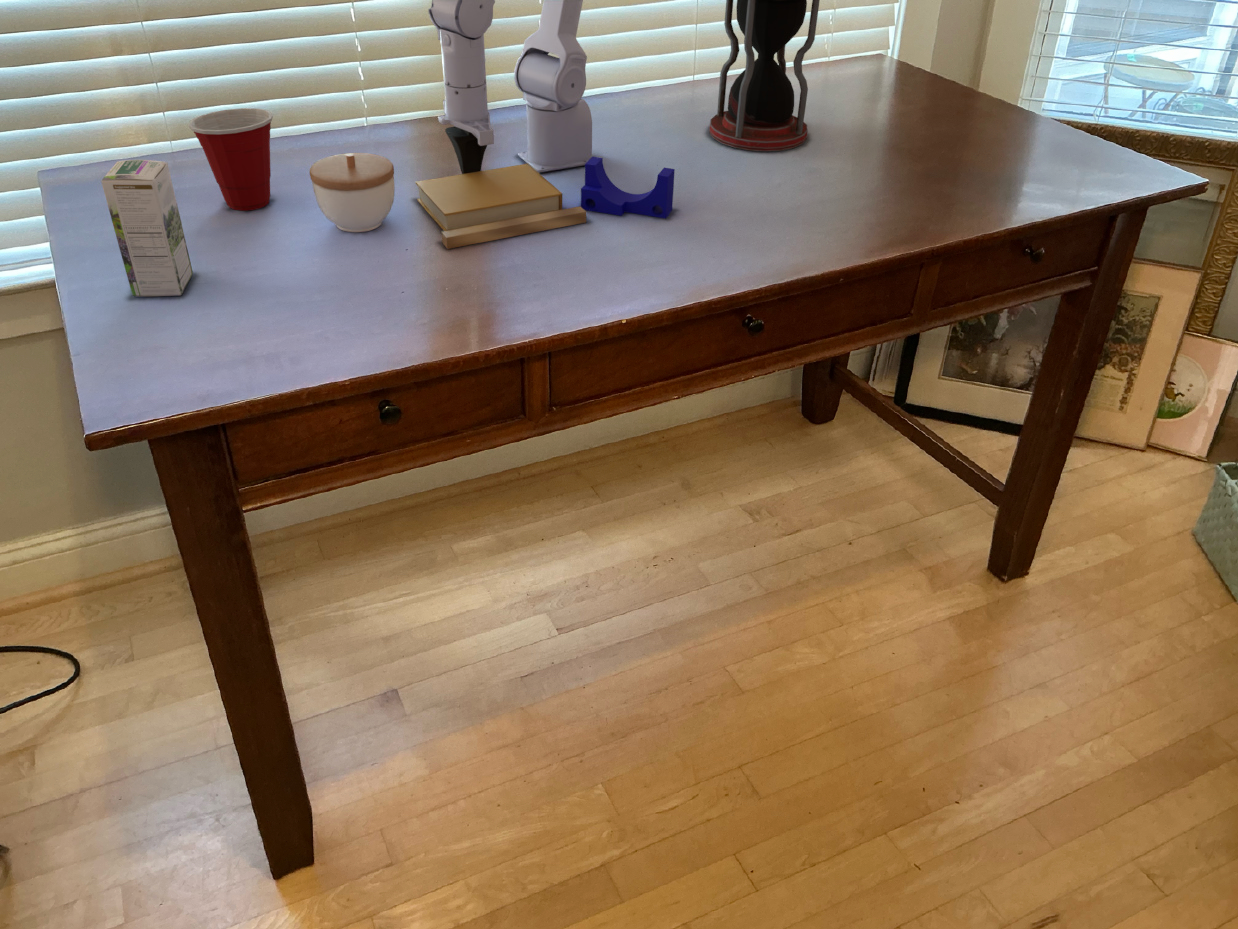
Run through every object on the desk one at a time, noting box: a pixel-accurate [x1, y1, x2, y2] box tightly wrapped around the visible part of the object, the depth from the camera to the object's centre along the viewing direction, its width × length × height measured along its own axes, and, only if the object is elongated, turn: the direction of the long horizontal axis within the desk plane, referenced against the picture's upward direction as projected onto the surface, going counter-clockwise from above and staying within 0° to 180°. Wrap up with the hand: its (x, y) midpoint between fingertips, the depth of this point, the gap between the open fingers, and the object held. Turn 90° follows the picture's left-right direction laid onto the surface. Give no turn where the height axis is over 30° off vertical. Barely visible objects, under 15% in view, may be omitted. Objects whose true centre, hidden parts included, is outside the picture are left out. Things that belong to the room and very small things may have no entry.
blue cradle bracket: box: [580, 156, 675, 219], centre depth 142 cm, size 12×4×6 cm, turn 71°
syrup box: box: [100, 159, 194, 297], centre depth 118 cm, size 6×6×14 cm
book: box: [415, 163, 563, 232], centre depth 143 cm, size 17×12×3 cm
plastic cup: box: [187, 107, 274, 212], centre depth 139 cm, size 11×11×12 cm
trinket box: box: [309, 152, 396, 233], centre depth 135 cm, size 11×11×9 cm
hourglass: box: [709, 0, 820, 152], centre depth 162 cm, size 16×16×25 cm
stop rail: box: [441, 205, 587, 250], centre depth 137 cm, size 20×2×2 cm, turn 118°
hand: (471, 178), depth 147 cm, fingers closed
